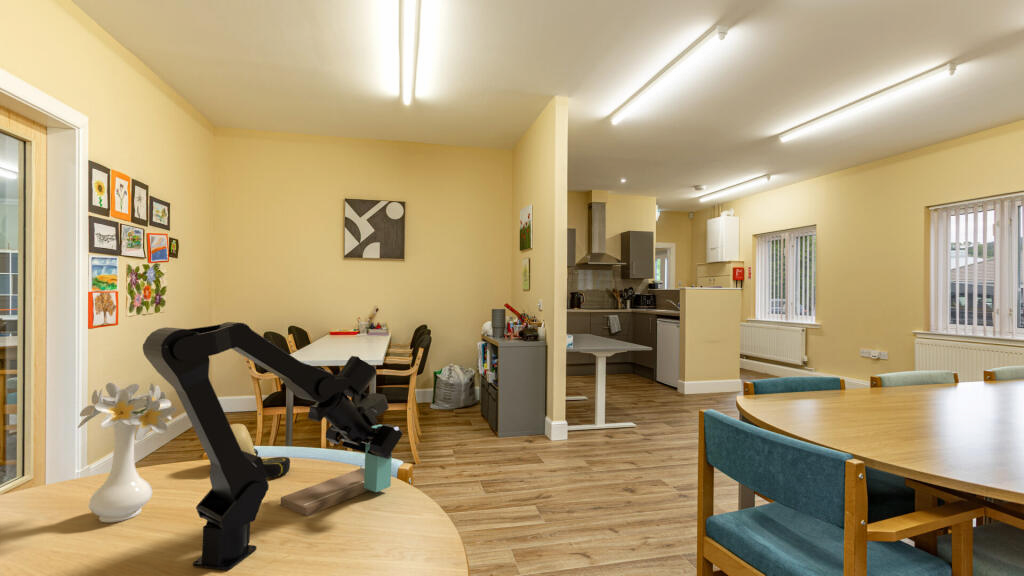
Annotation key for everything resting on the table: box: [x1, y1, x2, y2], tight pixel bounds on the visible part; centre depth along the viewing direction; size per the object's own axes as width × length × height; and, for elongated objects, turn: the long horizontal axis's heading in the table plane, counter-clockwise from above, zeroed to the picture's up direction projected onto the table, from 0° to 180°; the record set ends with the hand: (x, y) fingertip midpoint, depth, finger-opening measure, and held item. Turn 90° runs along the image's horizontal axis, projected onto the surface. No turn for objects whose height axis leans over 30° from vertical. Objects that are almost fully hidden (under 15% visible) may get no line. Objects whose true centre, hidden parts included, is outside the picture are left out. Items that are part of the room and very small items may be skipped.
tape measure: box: [261, 456, 291, 478], centre depth 110 cm, size 7×7×4 cm
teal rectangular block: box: [359, 423, 393, 493], centre depth 101 cm, size 4×7×13 cm, turn 57°
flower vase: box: [77, 382, 177, 524], centre depth 88 cm, size 13×18×25 cm
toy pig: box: [230, 423, 259, 456], centre depth 115 cm, size 10×12×11 cm
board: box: [280, 468, 370, 517], centre depth 100 cm, size 20×9×2 cm, turn 147°
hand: (383, 455), depth 102 cm, fingers closed on teal rectangular block, 4 cm apart
